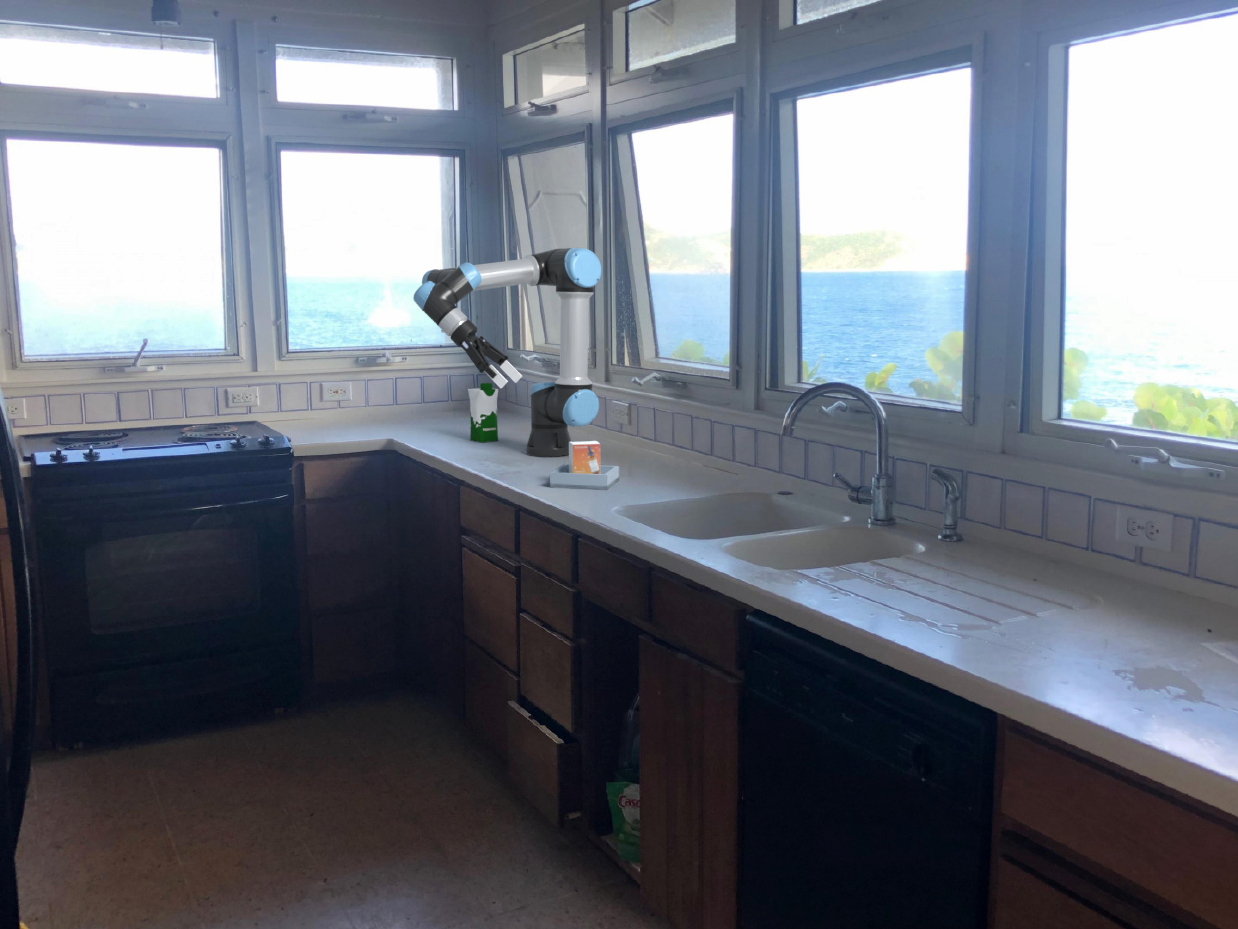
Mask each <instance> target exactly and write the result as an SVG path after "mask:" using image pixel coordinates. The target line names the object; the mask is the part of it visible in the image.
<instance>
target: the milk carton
mask: <svg viewBox="0 0 1238 929" xmlns="http://www.w3.org/2000/svg"><path fill="white" fill-rule="evenodd" d="M479 387H480V388H479ZM479 387H477V388H467V391H468V392H467V393H468V398H469V403H470V404H469V409H470V410H469V411H470V434H469V437H470V438H469V440H470V441H472V440H473V441H472V442H476V441H478V442H477V443H481V442H482V443H488V442H487V441H490V442H497V441H496V440H498V441H499V434H498V432H499V431H498V430H499V429H498V402H497V401H498V394H499V389H498V388H493V383H492V382H481V383H480V386H479Z"/></svg>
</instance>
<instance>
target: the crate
mask: <svg viewBox="0 0 1238 929" xmlns="http://www.w3.org/2000/svg"><path fill="white" fill-rule="evenodd" d="M619 481H620V466H619V465H601V464H600V474H583V473H569V463H564V464H562V465H560V466H558V467H557V468H555V469H553V470H552V471H551V472H549V488H554V487H563V488H562V489H577V488H580V489H581V490H598V491H599V490H601V491H602V490H603V491H606V490H607V491H608V490H610V488H611V487H613V486H614V485H615V484H616V483H617V482H619ZM612 485H613V486H612Z"/></svg>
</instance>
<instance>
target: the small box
mask: <svg viewBox="0 0 1238 929" xmlns="http://www.w3.org/2000/svg"><path fill="white" fill-rule="evenodd" d="M568 464H569V473H583V474H600V465H601V443H600V442H599V441H597V440H591V441H590V440H589V441H587V440H586V441H572V442H569V455H568Z"/></svg>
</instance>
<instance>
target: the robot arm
mask: <svg viewBox="0 0 1238 929" xmlns="http://www.w3.org/2000/svg"><path fill="white" fill-rule="evenodd" d="M601 276H602V263H601V261H600V259H599V257H598V256H597V255H596V253H595V252H594V251H591V250H590V249H588V248H584V247H583V248H582V247H569V248H567V247H566V248H554V249H549V250H547V251H542V252H539V253H533V254H527V255H525V256H524V258H521V259H520V258H519V259H513V260H505V261H496V262H489V263H480V264H472V263H470V262H463V263H462V264H460V265H458V267H456V266H455V267H452V268H451V267H450V268H442V269H441V268H440V269H431V270H427V271H426V272H425V273H424V275H423V276H422V279H421V285H420V286H419V287H418V288H417V289H416V291H415V292H414V294H413V297H412V298H413V301H414V302H415V304H416V305H417V306H418V307H419V308H420V310H421V311H422V312H424V314H426V315H427V316H428V317H429V319H431V320H432V321H433V322H434V324H436V325H437V326H438V328H440V329H441V330H440V332H441V333H445V335H447V336H448V337H450V340H451V341H452V342H453V343H454V345H456V346H457V347H459V348H460V347H461V349H463V350H464V351H465V354H466V355H467V356H468V358H469V359H470V360H471V361H472V363H473V364H474V366H475V367H476V369H477V370H478V372H479V373H481V374H484V373H485V374H486V375H487V377H489V378H490V379H491V381H493V383H494V384H496V385H497V386H498V388H499V389H502V388H504V386H506V385H507V383H508V382H509V380H507V378H505V377H504V375H502V374H501V373H500V371H498V369H496V368H495V366H494V365H492V364H490V363H489V361H488V359H489V360H492V362H494V363H495V364H497V365H499V368H500V369H501V370H502V371H503V372H504V373H505V374H506V375H507V376H508V377H509V378H510V379H511V380H512V381H513V382H514V383H515V384H517V383H518V382H519V380H520V379H521V378H522V377H523V375H522V374H521V372H519V371H518V370H517V369H516V368H515V367H514V366H513V365H512V364H511V363H510V362H509V361H508V359H509V356H508V355H506V354H504V353H503V352H501V351H500V350H499V349H498V348H496V347H495V346H494V345H493V344H491V343H490V342H489V341H488V340H487V339H485V338H484V336H482V335H480V337H478V335H477V336H476V334H477V332H478V327H477V326H476V325H475V324H474V323H473V322H472V321H471V320H469V319H468V316H467V315H465V314H464V312H463V311H462V310H460V309H459V307H458V306H456V305H457V304H458V303H459V302H460V301H461V300H463V299H464V298H466V297H467V296H468V295H469V294H471V293H472V292H476V291H484V290H491V289H499V288H503V287H504V288H505V287H511V286H513V287H514V286H519V285H528V286H531V287H534V286H549V287H555V294H557V296H558V297H559V298H560V328H559V329H560V331H559V332H560V333H559V334H560V338H559V340H560V341H559V342H560V343H559V377H558V378H557V379H556V381H550V382H549V381H548V382H538V383H537V382H536V383H533V384H532V385H531V388H530V395H529V397H530V414H531V415H530V418H531V419H530V420H531V422H530V423H531V424H530V425H531V430H530V432H529V433H530V434H529V437H528V440H527V444H526V447H525V451H526V452H525V453H526V454H527V455H528V454H530V456H533V455H534V456H535V457H545V456H552V457H563V456H562V455H565V456H569V455H568V454H569V442H573V441H572V438H571V435H570V432H569V428H568V426H570V427H573V428H574V427H578V428H581V427H582V428H583V427H585V426H587V425H589V424H591V423H592V421H594V420H595V418H596V417H597V416H598V413H599V409H600V402H599V398H598V396H597V395H596V393H595V392H594V391H593V381H592V380H590V379H589V377H588V371H589V370H588V369H589V368H588V366H589V364H588V363H589V313H590V311H589V308H590V307H589V305H590V304H589V303H590V298H591V297H592V296H593V295H594V294H595V286H596V285H597V284H598V282H599V281H600V280H601ZM487 358H488V359H487Z"/></svg>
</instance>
